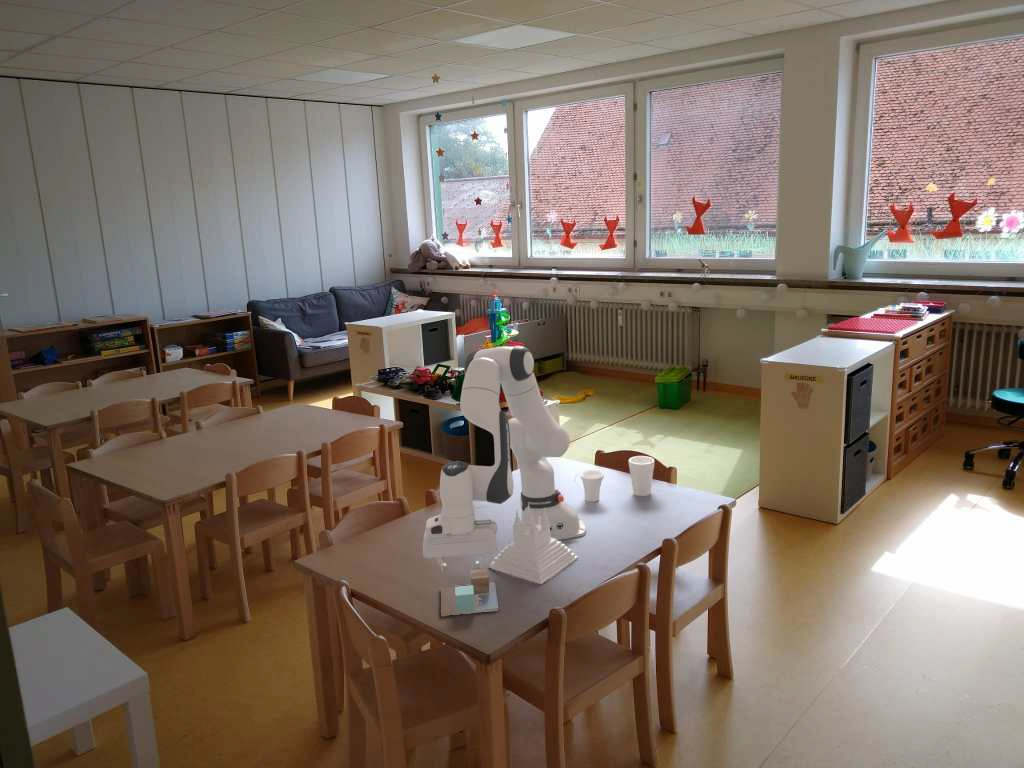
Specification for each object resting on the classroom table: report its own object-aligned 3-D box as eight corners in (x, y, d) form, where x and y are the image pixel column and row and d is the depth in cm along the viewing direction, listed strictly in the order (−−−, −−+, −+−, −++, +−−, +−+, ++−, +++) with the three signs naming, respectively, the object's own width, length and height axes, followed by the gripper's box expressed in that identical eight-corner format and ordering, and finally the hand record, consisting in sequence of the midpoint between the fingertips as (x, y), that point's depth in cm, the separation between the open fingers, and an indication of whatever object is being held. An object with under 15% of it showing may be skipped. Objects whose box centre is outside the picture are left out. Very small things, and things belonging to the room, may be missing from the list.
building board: (494, 585, 227) (494, 581, 227) (498, 611, 213) (498, 607, 212) (440, 590, 226) (440, 586, 226) (440, 617, 211) (440, 613, 211)
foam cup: (656, 497, 286) (656, 463, 283) (631, 498, 286) (630, 465, 283) (652, 487, 295) (651, 455, 292) (627, 488, 295) (627, 456, 292)
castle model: (578, 559, 241) (576, 504, 237) (541, 585, 226) (538, 527, 222) (526, 544, 253) (523, 492, 249) (488, 569, 238) (484, 513, 234)
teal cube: (474, 601, 217) (473, 585, 216) (475, 610, 212) (473, 593, 211) (456, 603, 216) (455, 586, 215) (456, 612, 211) (455, 595, 210)
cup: (590, 505, 281) (589, 480, 279) (576, 498, 289) (575, 472, 287) (610, 500, 285) (609, 474, 283) (595, 492, 293) (594, 467, 291)
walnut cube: (471, 586, 225) (470, 570, 224) (488, 584, 225) (487, 569, 224) (472, 594, 220) (470, 578, 219) (489, 593, 221) (488, 577, 219)
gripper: (496, 514, 212) (498, 561, 215) (421, 520, 210) (424, 567, 214) (497, 523, 206) (500, 571, 209) (420, 529, 204) (424, 577, 207)
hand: (461, 569), depth 211 cm, fingers open, 8 cm apart
